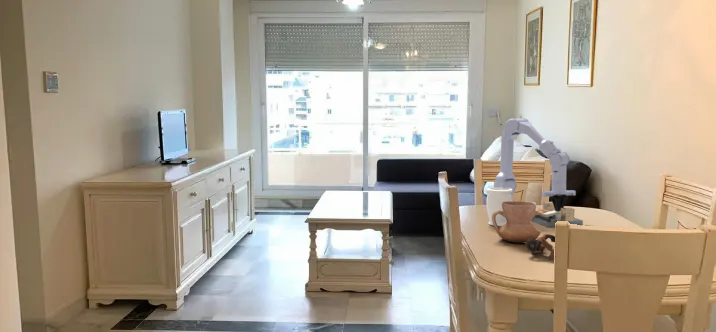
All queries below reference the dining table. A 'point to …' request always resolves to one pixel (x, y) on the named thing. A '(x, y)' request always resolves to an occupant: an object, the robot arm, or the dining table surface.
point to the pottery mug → (540, 242)
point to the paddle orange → (543, 210)
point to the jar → (497, 203)
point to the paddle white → (551, 214)
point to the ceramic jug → (517, 221)
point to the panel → (565, 215)
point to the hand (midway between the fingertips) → (558, 212)
